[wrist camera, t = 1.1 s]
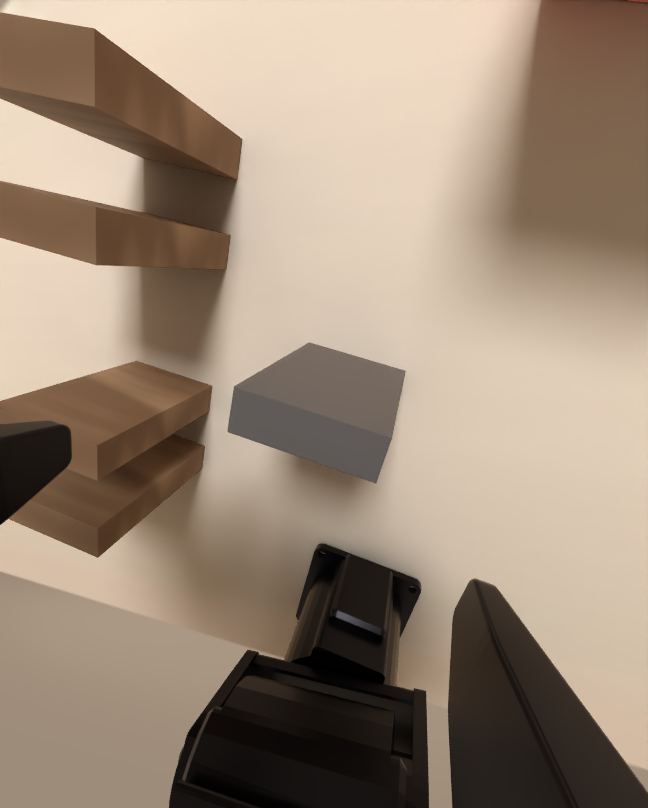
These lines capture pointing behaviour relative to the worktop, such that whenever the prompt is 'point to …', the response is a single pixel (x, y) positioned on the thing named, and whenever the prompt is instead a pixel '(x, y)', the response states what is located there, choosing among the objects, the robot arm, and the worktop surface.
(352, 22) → the worktop surface
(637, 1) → the ink cartridge box
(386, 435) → the gray domino
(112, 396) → the domino
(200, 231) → the domino
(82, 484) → the domino
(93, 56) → the domino
